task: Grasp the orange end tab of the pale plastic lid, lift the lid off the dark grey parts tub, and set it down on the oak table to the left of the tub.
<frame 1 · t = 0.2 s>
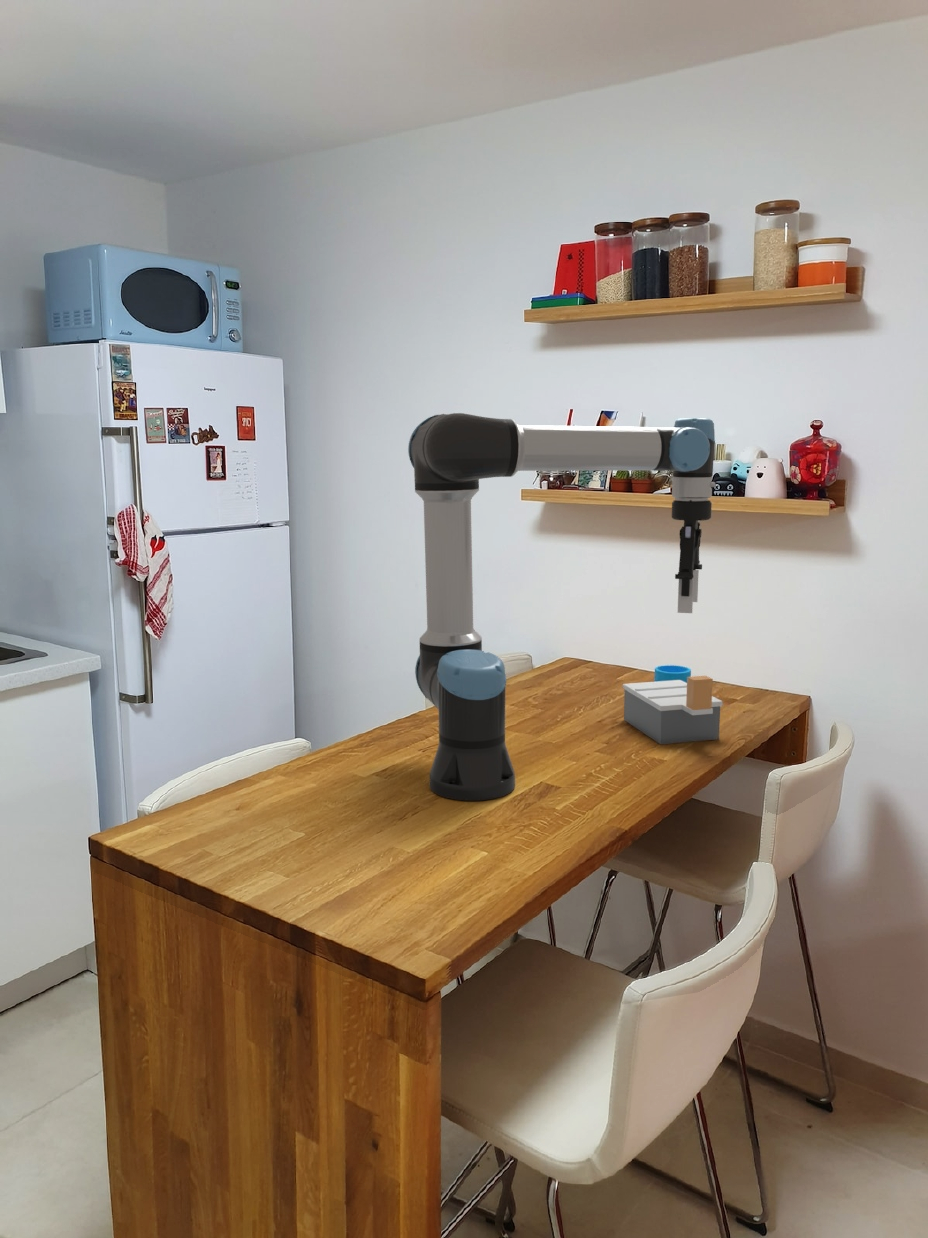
hand: (687, 607, 190), 27 cm above the table, fingers open, 13 cm apart
lid: (670, 697, 201), point 7 cm above the table, touching tub
tub: (669, 729, 202), on the table
mug: (674, 702, 224), on the table
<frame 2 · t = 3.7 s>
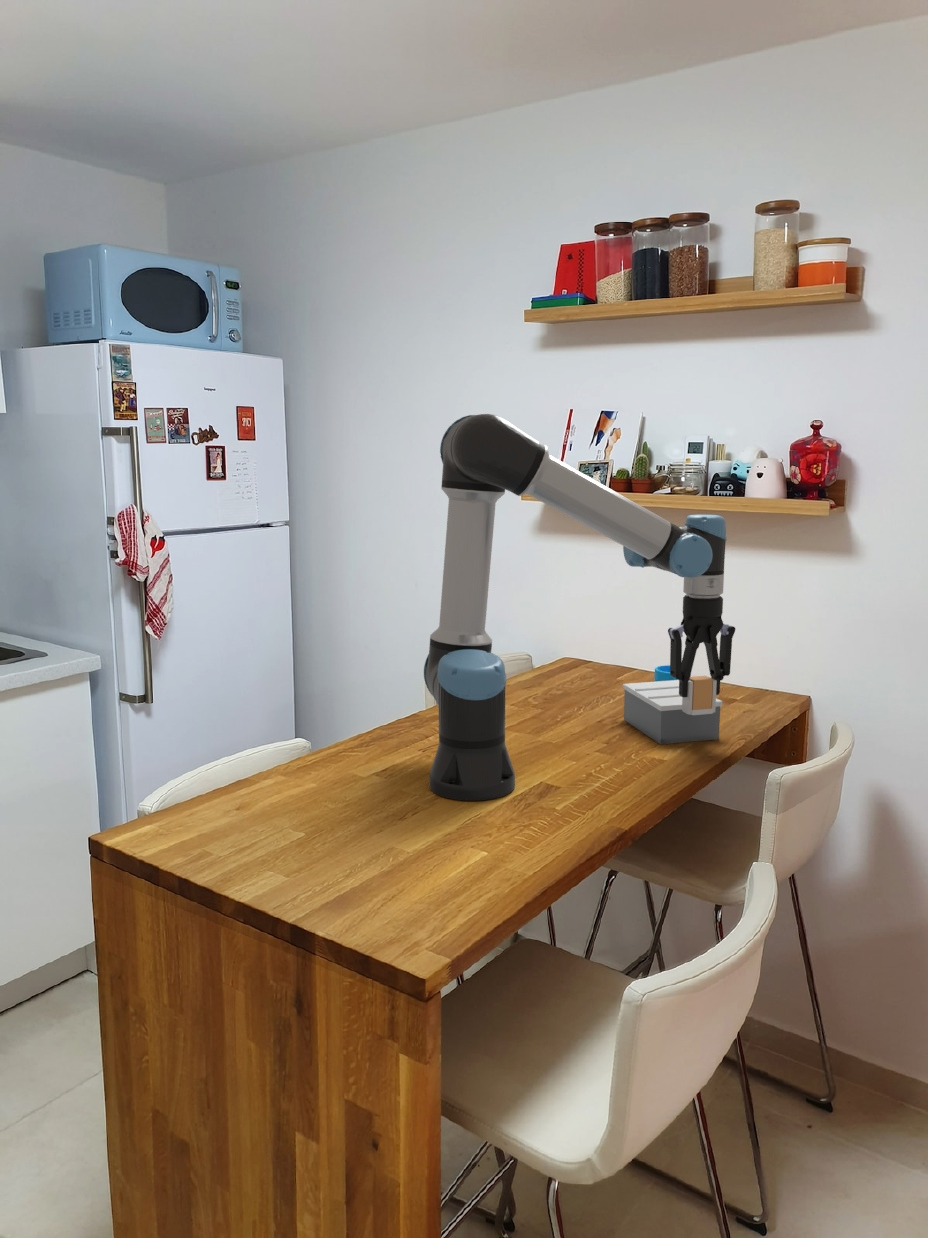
hand: (698, 711, 189), 7 cm above the table, fingers closed on lid, 4 cm apart
lid: (670, 697, 201), point 7 cm above the table, touching gripper, tub
everything else where it was.
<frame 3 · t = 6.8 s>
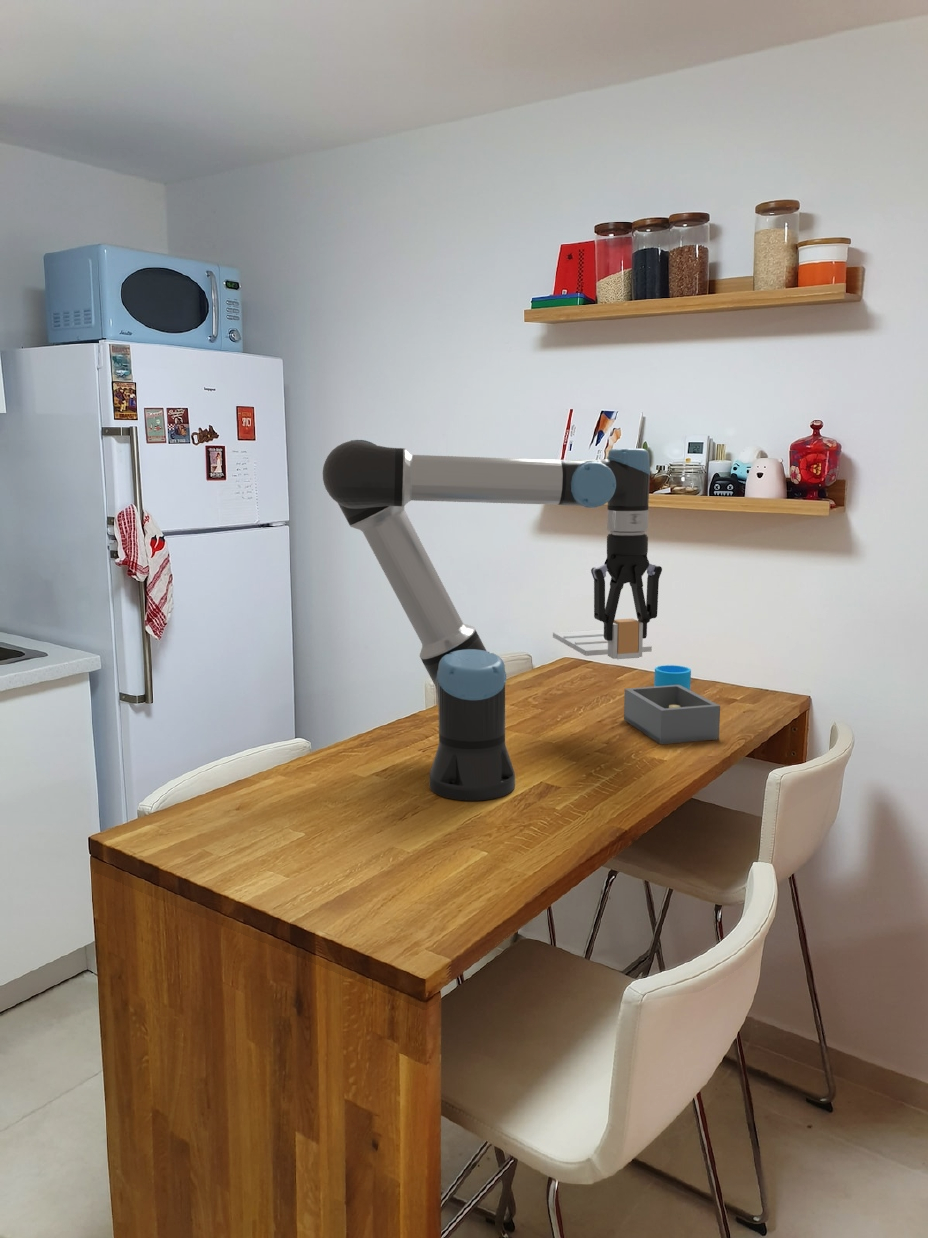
hand: (624, 656, 181), 20 cm above the table, fingers closed on lid, 4 cm apart
lid: (600, 644, 193), point 20 cm above the table, touching gripper
everything else where it was.
when the fingers open (2 cm above the table, at t = 10.0 s): lid drops 2 cm, on the table.
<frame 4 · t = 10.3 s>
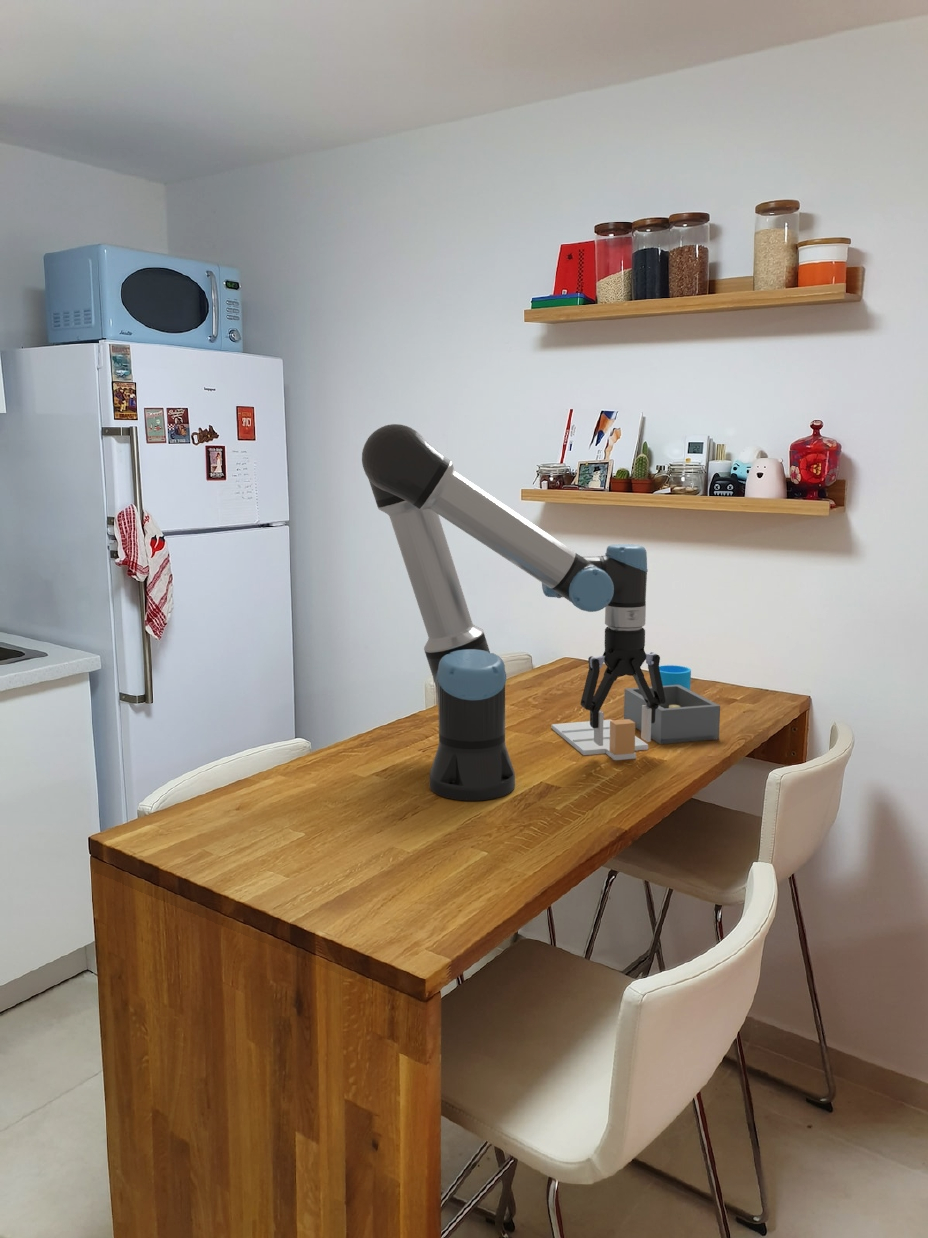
hand: (622, 741, 184), 3 cm above the table, fingers open, 9 cm apart
lid: (598, 738, 196), on the table
everything else where it was.
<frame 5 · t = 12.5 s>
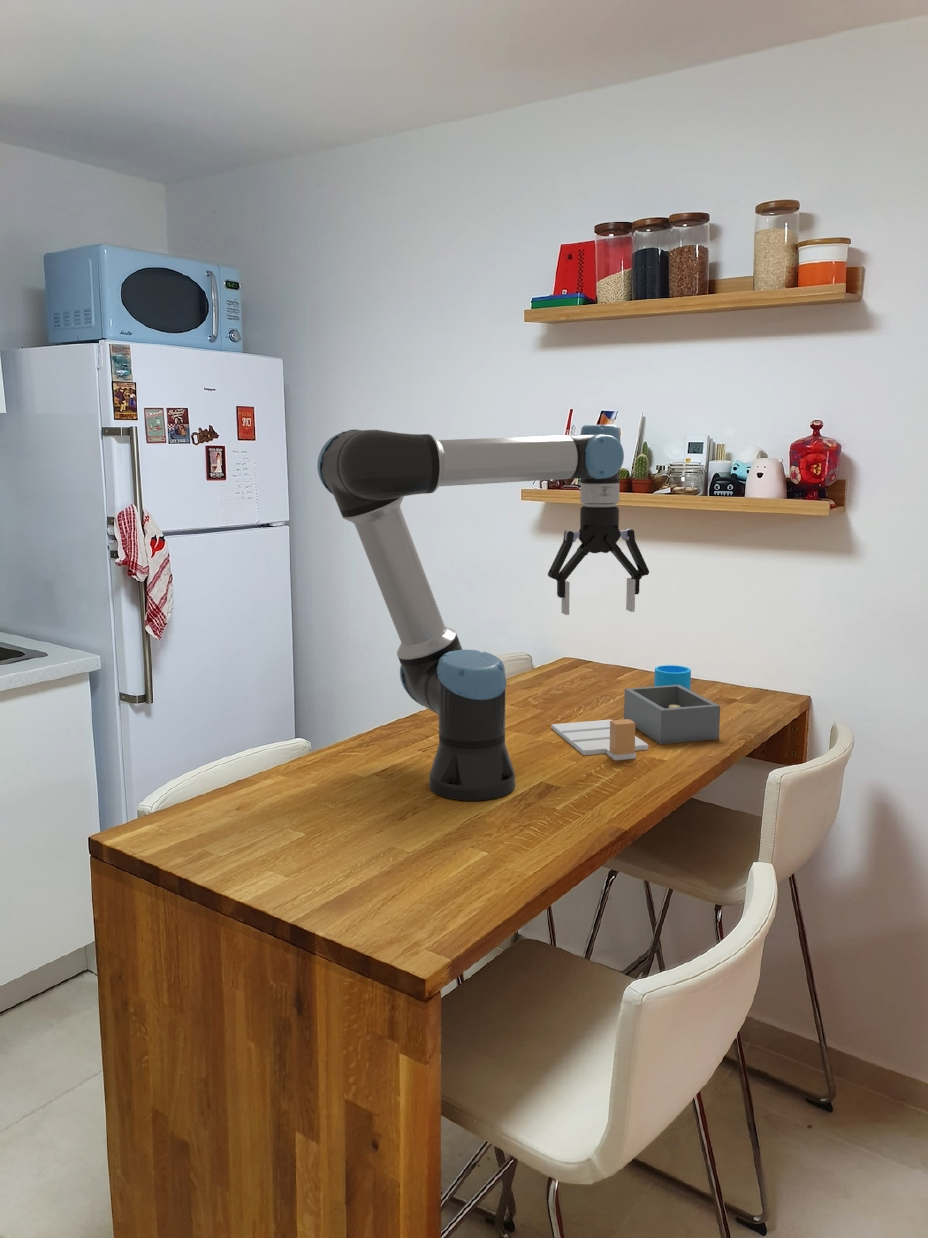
hand: (598, 612, 191), 26 cm above the table, fingers open, 13 cm apart
nothing on the table moved.
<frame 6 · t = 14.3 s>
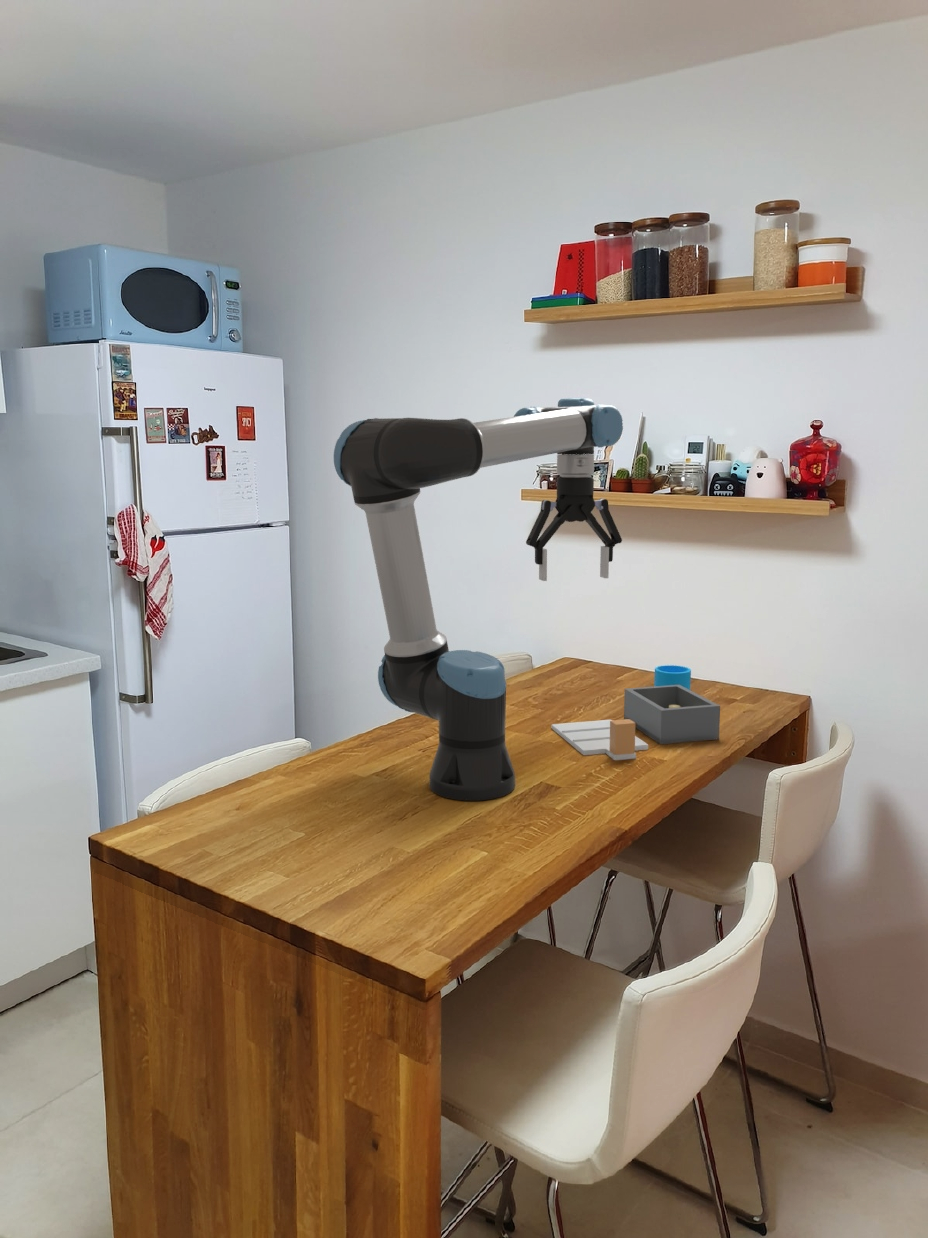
hand: (573, 578, 199), 32 cm above the table, fingers open, 13 cm apart
nothing on the table moved.
at the end: lid on the table; lid moved 18.6 cm from its start; the gripper is holding nothing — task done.
